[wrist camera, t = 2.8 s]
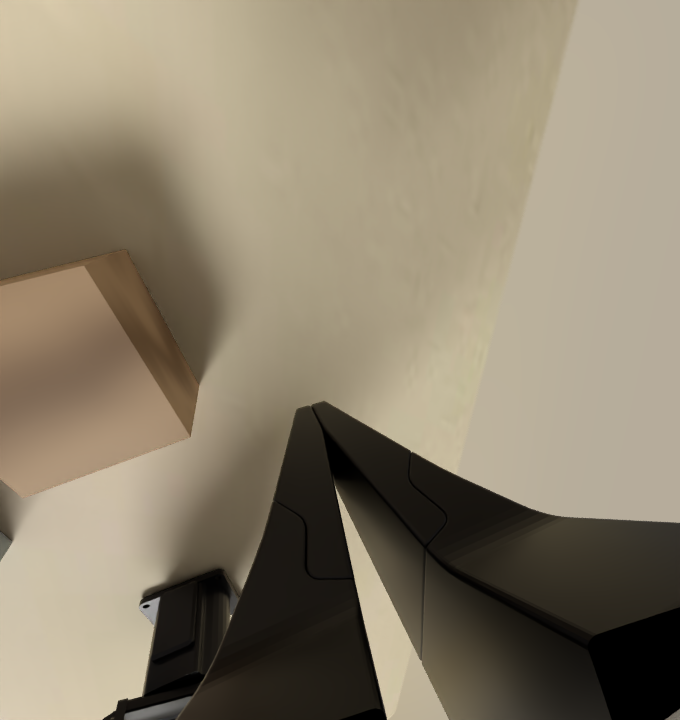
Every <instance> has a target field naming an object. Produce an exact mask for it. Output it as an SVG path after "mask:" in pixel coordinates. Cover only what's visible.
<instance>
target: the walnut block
mask: <svg viewBox="0 0 680 720" xmlns="http://www.w3.org/2000/svg"><path fill="white" fill-rule="evenodd" d="M198 390H199V384H198V383H197V381H196V379H195V377H194V375H193V373H192V371H191V370H190V368H189V366H188V364H187V362H186V360H185V358H184V357H183V355H182V353H181V351H180V349H179V347H178V345H177V344H176V342H175V340H174V338H173V336H172V334H171V332H170V331H169V329H168V327H167V325H166V323H165V321H164V319H163V318H162V316H161V314H160V312H159V310H158V308H157V306H156V305H155V303H154V301H153V299H152V297H151V295H150V293H149V292H148V290H147V288H146V286H145V284H144V282H143V280H142V279H141V277H140V275H139V273H138V271H137V269H136V267H135V266H134V264H133V262H132V260H131V258H130V256H129V254H128V253H127V251H126V249H125V250H121V251H117V252H113V253H109V254H105V255H101V256H96V257H92V258H88V259H84V260H80V261H76V262H72V263H68V264H64V265H60V266H56V267H52V268H48V269H44V270H40V271H35V272H31V273H27V274H23V275H19V276H15V277H11V278H7V279H3V280H0V479H1V480H2V481H3V482H4V483H5V484H6V485H8V486H9V487H10V488H11V489H12V490H14V491H15V492H16V493H17V494H18V495H19V496H21V497H22V498H25V497H28V496H31V495H33V494H36V493H39V492H42V491H44V490H47V489H50V488H53V487H55V486H58V485H61V484H64V483H66V482H69V481H72V480H75V479H77V478H80V477H83V476H85V475H88V474H91V473H94V472H96V471H99V470H102V469H105V468H107V467H110V466H113V465H116V464H118V463H121V462H124V461H127V460H129V459H132V458H135V457H138V456H140V455H143V454H146V453H149V452H151V451H154V450H157V449H159V448H162V447H165V446H168V445H170V444H173V443H176V442H179V441H181V440H184V439H187V438H190V437H191V431H192V425H193V419H194V414H195V408H196V402H197V396H198Z"/></svg>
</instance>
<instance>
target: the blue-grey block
mask: <svg viewBox="0 0 680 720" xmlns="http://www.w3.org/2000/svg"><path fill="white" fill-rule="evenodd" d="M11 544H12V541H11V540H10V539H8V538H7V537H6V536H5V535H4V534H3V533H2V532H1V531H0V561H1V559H2V558H3V556H4V555H5V553H6V552H7V550H8V549H9V547H10V545H11Z"/></svg>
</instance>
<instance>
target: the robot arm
mask: <svg viewBox="0 0 680 720" xmlns="http://www.w3.org/2000/svg"><path fill="white" fill-rule="evenodd" d="M334 484H335V485H334ZM335 486H336V488H337V491H338V493H339V495H340V497H341V499H342V501H343V503H344V505H345V507H346V509H347V511H348V513H349V515H350V517H351V519H352V521H353V523H354V525H355V527H356V529H357V532H358V534H359V536H360V538H361V540H362V542H363V544H364V546H365V548H366V550H367V552H368V554H369V556H370V558H371V560H372V562H373V564H374V566H375V568H376V570H377V572H378V575H379V577H380V579H381V581H382V583H383V585H384V587H385V589H386V591H387V593H388V595H389V597H390V599H391V601H392V603H393V605H394V607H395V609H396V611H397V613H398V616H399V618H400V620H401V622H402V624H403V626H404V628H405V630H406V632H407V634H408V636H409V638H410V640H411V642H412V644H413V646H414V648H415V650H416V652H417V654H418V656H419V659H420V660H421V661H422V665H423V667H424V669H425V671H426V673H427V675H428V677H429V679H430V681H431V683H432V685H433V687H434V689H435V692H436V694H437V696H438V698H439V700H440V702H441V704H442V706H443V708H444V710H445V712H446V714H447V716H448V718H449V720H680V523H671V522H652V521H631V520H613V519H593V518H573V517H561V516H555V515H550V514H546V513H542V512H539V511H536V510H533V509H530V508H528V507H525V506H523V505H521V504H518V503H516V502H514V501H512V500H510V499H507V498H505V497H503V496H501V495H499V494H496V493H494V492H492V491H490V490H488V489H485V488H483V487H481V486H479V485H476V484H474V483H472V482H470V481H468V480H465V479H463V478H461V477H459V476H457V475H455V474H453V473H451V472H449V471H447V470H445V469H443V468H441V467H439V466H437V465H435V464H434V463H432V462H430V461H428V460H426V459H424V458H423V457H421V456H419V455H417V454H416V453H414V452H411V451H410V450H409V449H407V448H405V447H403V446H402V445H400V444H398V443H396V442H395V441H393V440H391V439H389V438H388V437H386V436H384V435H383V434H381V433H379V432H377V431H376V430H374V429H372V428H370V427H369V426H367V425H365V424H364V423H362V422H360V421H358V420H357V419H355V418H353V417H351V416H350V415H348V414H346V413H344V412H343V411H341V410H339V409H338V408H336V407H334V406H332V405H331V404H329V403H327V402H325V401H322V402H319V403H316V404H313V405H312V406H305V407H302V408H298V409H297V410H296V413H295V417H294V421H293V425H292V428H291V432H290V436H289V440H288V444H287V448H286V452H285V455H284V459H283V463H282V467H281V471H280V475H279V479H278V482H277V486H276V490H275V494H274V498H273V502H272V505H271V509H270V513H269V516H268V520H267V523H266V527H265V530H264V533H263V537H262V540H261V543H260V545H259V548H258V551H257V553H256V556H255V559H254V562H253V564H252V567H251V569H250V572H249V575H248V577H247V580H246V582H245V585H244V587H243V590H242V592H241V595H240V597H239V596H238V595H237V593H236V591H235V589H234V587H233V585H232V584H231V582H230V580H229V578H228V576H227V575H226V573H225V571H224V570H223V569H218V570H215V571H212V572H210V573H207V574H204V575H202V576H199V577H197V578H194V579H192V580H189V581H187V582H184V583H181V584H179V585H176V586H174V587H171V588H169V589H166V590H163V591H161V592H158V593H156V594H153V595H151V596H148V597H146V598H143V599H142V600H141V601H140V605H139V609H140V610H141V612H142V613H143V614H144V615H145V616H146V617H147V618H148V619H149V620H150V621H151V623H152V624H153V625H154V632H153V637H152V643H151V649H150V654H149V660H148V666H147V671H146V677H145V683H144V688H143V694H142V697H138V698H134V699H131V700H128V698H127V699H123V700H119V701H118V704H117V709H116V711H114V712H113V713H111V714H110V715H108V716H107V717H105V718H104V719H103V720H387V717H386V713H385V709H384V705H383V700H382V696H381V692H380V688H379V683H378V679H377V675H376V671H375V667H374V662H373V658H372V654H371V650H370V646H369V641H368V637H367V633H366V629H365V624H364V620H363V616H362V611H361V607H360V602H359V598H358V593H357V588H356V584H355V579H354V574H353V570H352V565H351V560H350V556H349V551H348V546H347V541H346V537H345V532H344V527H343V523H342V518H341V513H340V509H339V504H338V499H337V494H336V490H335ZM232 614H233V615H232ZM230 615H232V617H231V620H230Z"/></svg>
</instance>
